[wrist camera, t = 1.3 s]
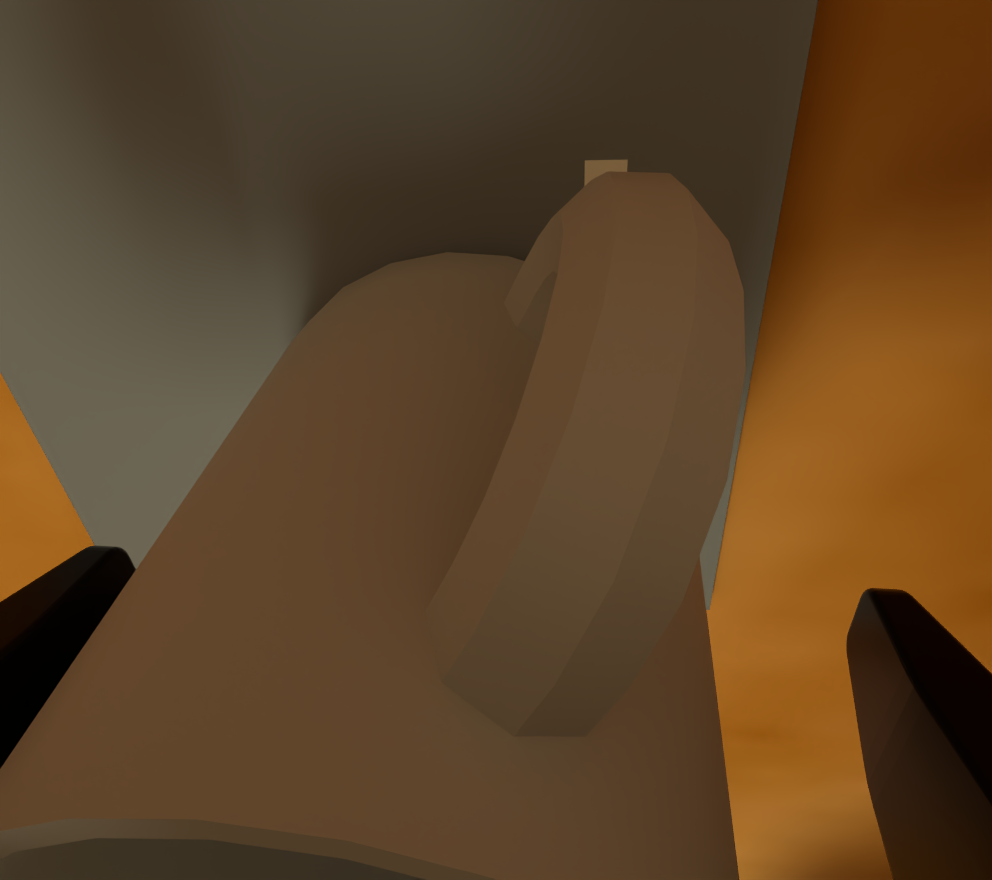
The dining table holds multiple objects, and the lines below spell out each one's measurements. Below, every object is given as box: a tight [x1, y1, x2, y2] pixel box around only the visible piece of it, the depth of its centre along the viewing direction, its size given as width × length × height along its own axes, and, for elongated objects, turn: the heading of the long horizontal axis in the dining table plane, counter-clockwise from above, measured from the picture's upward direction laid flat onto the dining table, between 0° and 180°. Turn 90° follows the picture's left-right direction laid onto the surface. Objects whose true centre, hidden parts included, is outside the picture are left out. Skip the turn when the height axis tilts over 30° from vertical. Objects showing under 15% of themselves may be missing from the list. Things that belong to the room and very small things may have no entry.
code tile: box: [0, 0, 818, 610], centre depth 13 cm, size 12×14×1 cm
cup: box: [0, 171, 746, 880], centre depth 9 cm, size 7×10×9 cm
